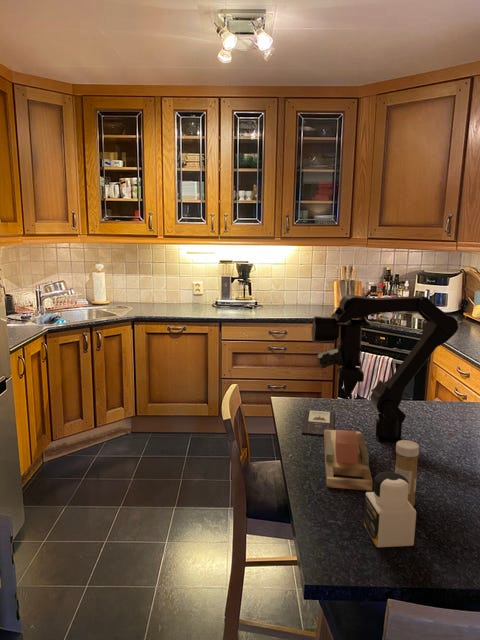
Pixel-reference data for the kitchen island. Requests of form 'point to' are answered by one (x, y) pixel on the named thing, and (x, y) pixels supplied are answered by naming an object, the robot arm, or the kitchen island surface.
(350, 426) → the kitchen island surface
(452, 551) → the kitchen island surface
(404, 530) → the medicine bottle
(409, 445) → the sprinkles bottle
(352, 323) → the robot arm
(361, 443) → the beige tray
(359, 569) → the kitchen island surface
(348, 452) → the block
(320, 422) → the chocolate bar
